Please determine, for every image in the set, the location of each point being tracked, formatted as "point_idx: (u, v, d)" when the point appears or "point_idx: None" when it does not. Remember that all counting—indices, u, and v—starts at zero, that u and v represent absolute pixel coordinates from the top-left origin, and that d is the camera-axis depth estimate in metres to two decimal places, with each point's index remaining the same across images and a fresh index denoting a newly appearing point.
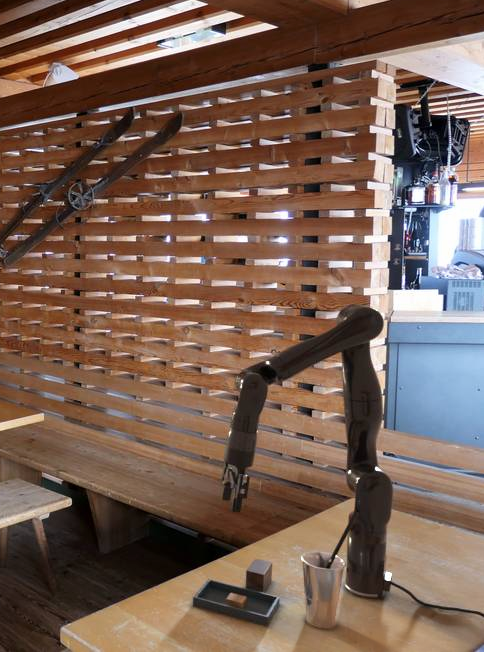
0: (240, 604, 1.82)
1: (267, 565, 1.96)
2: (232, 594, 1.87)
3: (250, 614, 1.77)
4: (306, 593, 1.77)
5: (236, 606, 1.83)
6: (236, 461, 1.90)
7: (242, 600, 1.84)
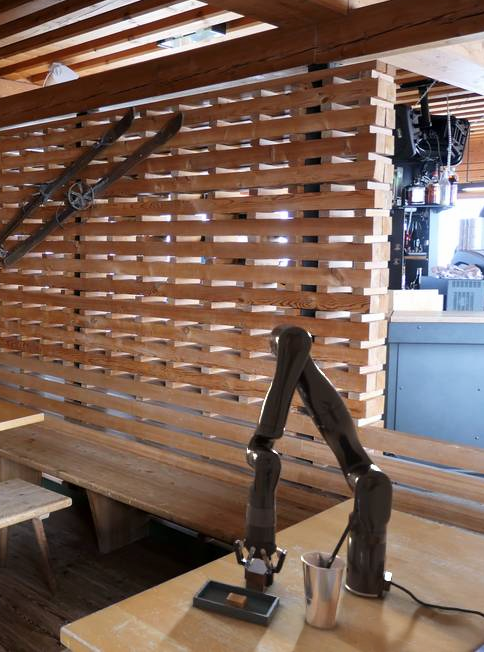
0: (240, 604, 1.82)
1: None
2: (232, 594, 1.87)
3: (250, 614, 1.77)
4: (306, 593, 1.77)
5: (236, 606, 1.83)
6: (271, 537, 1.92)
7: (242, 600, 1.84)
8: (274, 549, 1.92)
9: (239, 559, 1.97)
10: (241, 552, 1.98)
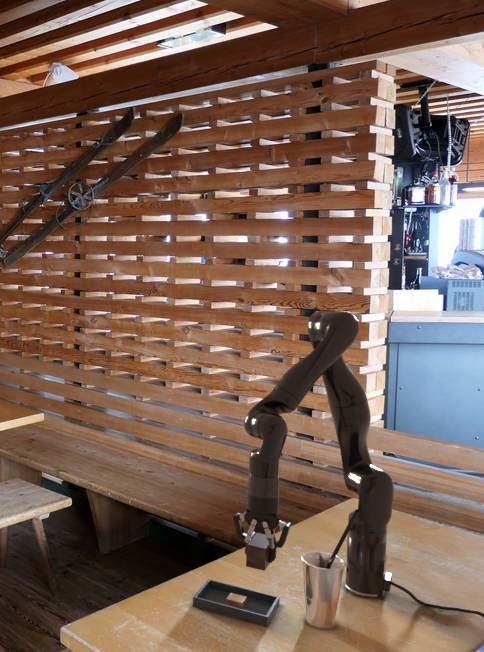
0: (240, 604, 1.82)
1: None
2: (232, 594, 1.87)
3: (250, 614, 1.77)
4: (306, 593, 1.77)
5: (236, 606, 1.83)
6: (274, 509, 1.79)
7: (242, 600, 1.84)
8: (277, 522, 1.79)
9: (239, 533, 1.84)
10: (241, 525, 1.85)
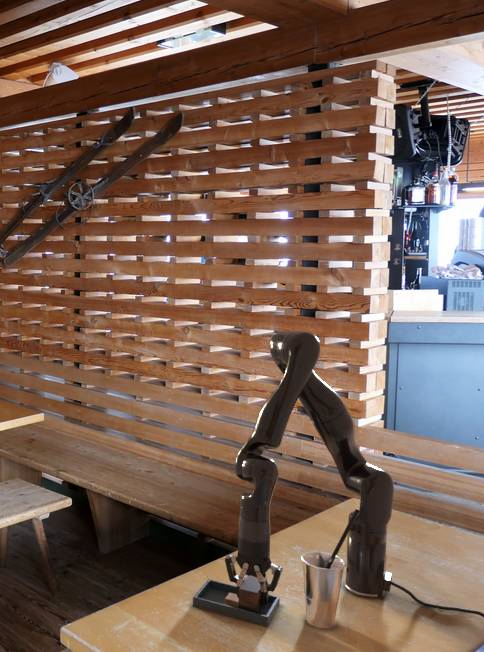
0: None
1: None
2: (231, 594, 1.87)
3: (250, 614, 1.77)
4: (306, 593, 1.77)
5: (235, 606, 1.83)
6: (265, 553, 1.79)
7: None
8: (268, 565, 1.79)
9: (231, 576, 1.84)
10: (233, 568, 1.85)
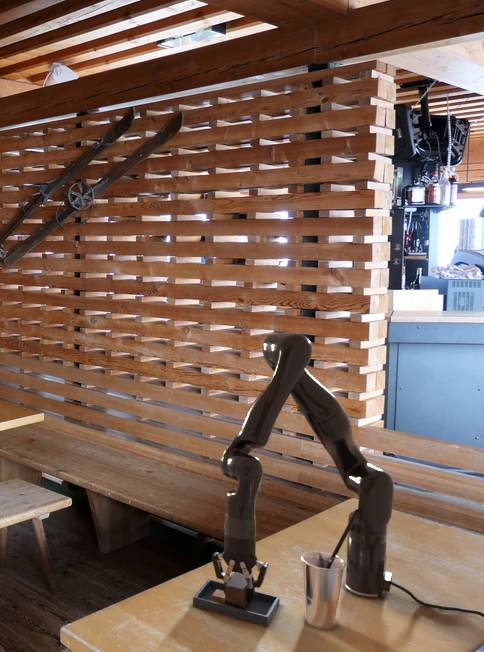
0: None
1: None
2: (218, 590, 1.89)
3: (250, 614, 1.77)
4: (306, 593, 1.77)
5: (222, 602, 1.85)
6: (251, 550, 1.80)
7: None
8: (254, 562, 1.81)
9: (218, 573, 1.86)
10: (220, 565, 1.87)
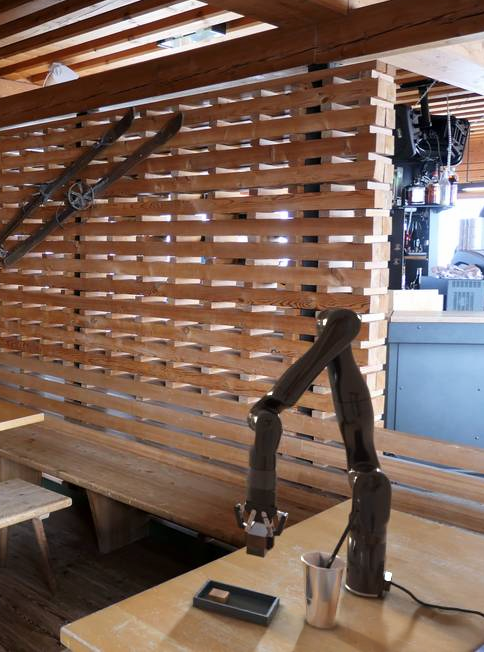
0: (222, 599, 1.85)
1: None
2: (215, 589, 1.89)
3: (250, 614, 1.77)
4: (306, 593, 1.77)
5: (218, 601, 1.85)
6: (272, 500, 1.90)
7: (224, 595, 1.86)
8: (275, 512, 1.91)
9: (240, 522, 1.96)
10: (242, 516, 1.97)
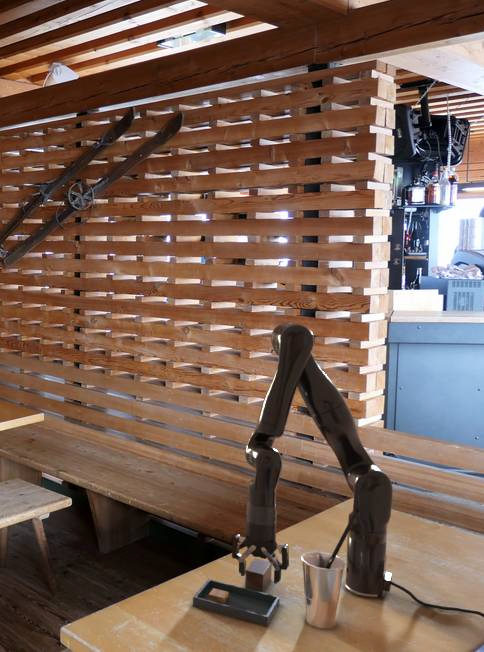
0: (222, 599, 1.85)
1: (266, 564, 1.96)
2: (215, 589, 1.89)
3: (250, 614, 1.77)
4: (306, 593, 1.77)
5: (218, 601, 1.85)
6: (272, 536, 1.91)
7: (224, 595, 1.86)
8: (274, 547, 1.92)
9: (234, 553, 1.98)
10: (238, 547, 1.98)
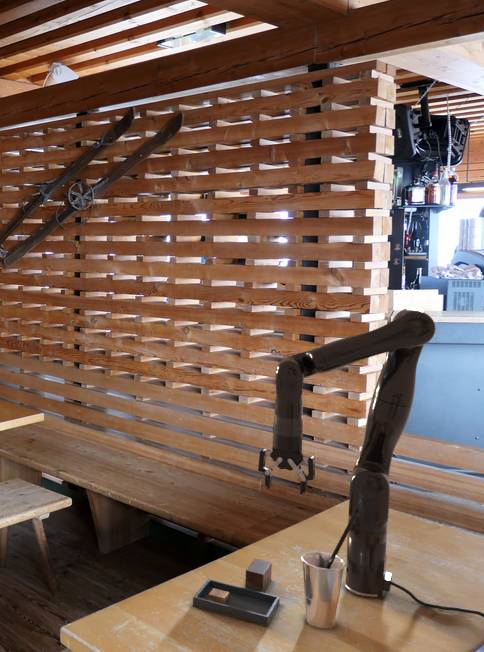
0: (222, 599, 1.85)
1: (266, 564, 1.96)
2: (215, 589, 1.89)
3: (250, 614, 1.77)
4: (306, 593, 1.77)
5: (218, 601, 1.85)
6: (298, 447, 1.95)
7: (224, 595, 1.86)
8: (301, 458, 1.96)
9: (261, 466, 2.01)
10: (264, 461, 2.02)
